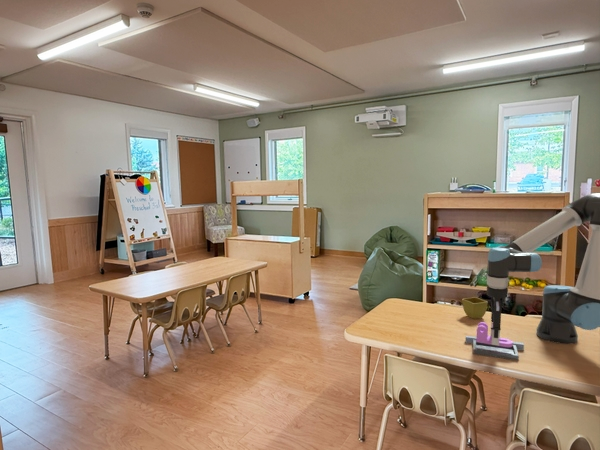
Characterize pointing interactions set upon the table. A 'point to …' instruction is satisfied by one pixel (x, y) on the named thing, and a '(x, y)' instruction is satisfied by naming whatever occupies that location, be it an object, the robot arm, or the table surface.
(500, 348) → the shallow rectangular tray
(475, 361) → the table surface
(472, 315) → the flower pot
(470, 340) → the door edge
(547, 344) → the table surface
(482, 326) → the bracket
